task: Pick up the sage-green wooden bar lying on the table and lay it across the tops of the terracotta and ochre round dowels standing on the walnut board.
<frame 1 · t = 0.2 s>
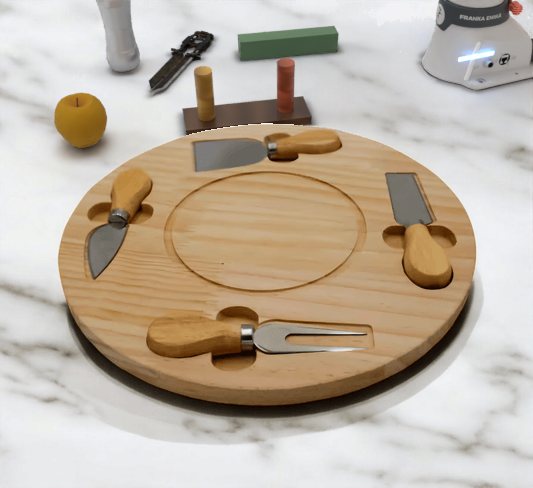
bar: (287, 52, 134), on the worktop
knife: (181, 65, 130), on the worktop
rods: (246, 119, 116), on the worktop
plastic bottle: (125, 68, 130), on the worktop
apple: (86, 144, 111), on the worktop
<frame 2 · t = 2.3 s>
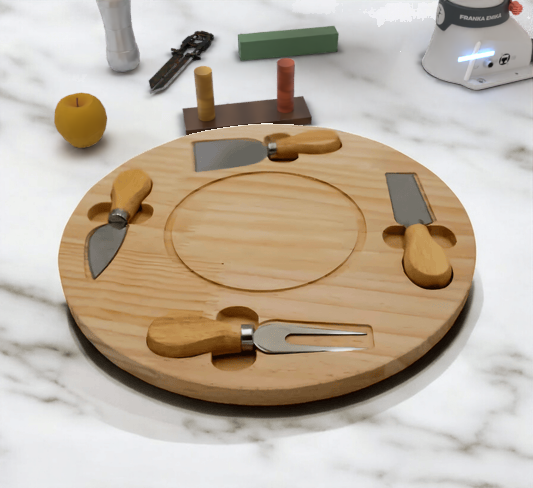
nothing on the worktop moved.
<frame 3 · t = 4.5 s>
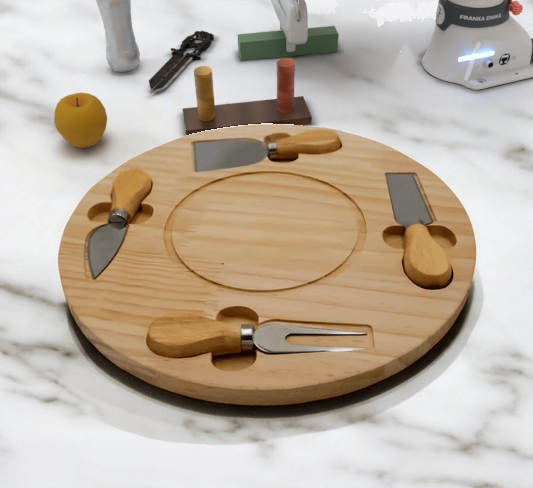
hand: (287, 44, 132), 2 cm above the worktop, tool pointing down, fingers closed on bar, 3 cm apart
bar: (287, 52, 134), on the worktop, touching gripper
everything else where it was.
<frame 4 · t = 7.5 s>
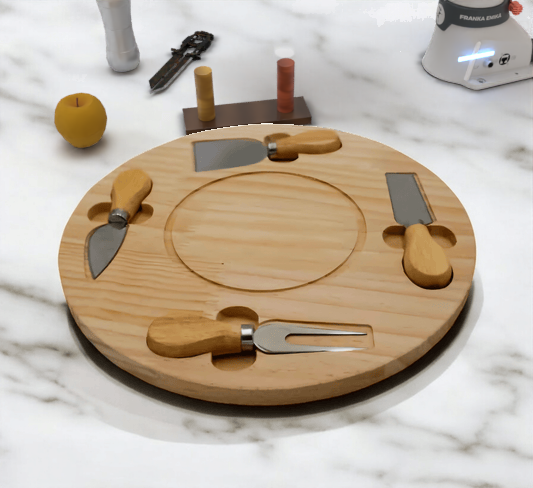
when the fingers open (12 cm above the worktop, at t = 10.8 s): bar stays where it is, resting on rods.
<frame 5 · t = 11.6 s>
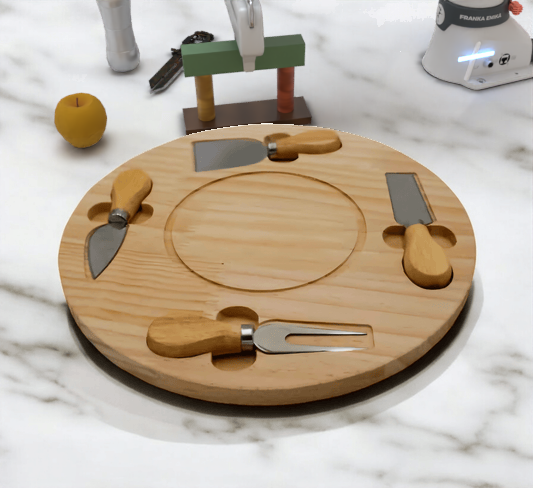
hand: (244, 55, 107), 12 cm above the worktop, tool pointing down, fingers open, 8 cm apart
bar: (243, 66, 109), point 10 cm above the worktop, touching rods
everything else where it was.
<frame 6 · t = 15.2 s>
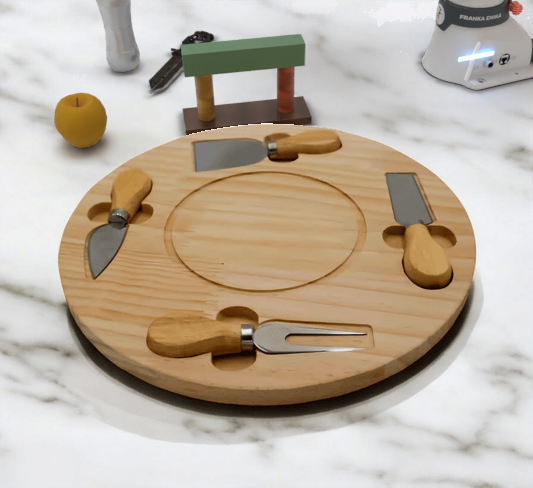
nothing on the worktop moved.
at the end: bar 0.1 cm off-centre on the rods, point 10.5 cm above the rods's base; bar tilted 0°; the gripper is holding nothing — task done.
